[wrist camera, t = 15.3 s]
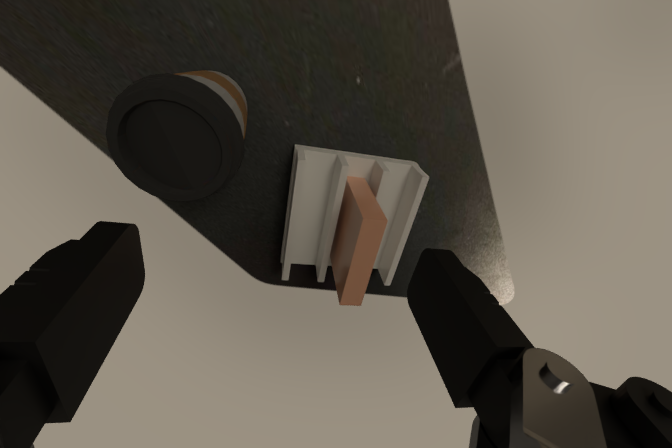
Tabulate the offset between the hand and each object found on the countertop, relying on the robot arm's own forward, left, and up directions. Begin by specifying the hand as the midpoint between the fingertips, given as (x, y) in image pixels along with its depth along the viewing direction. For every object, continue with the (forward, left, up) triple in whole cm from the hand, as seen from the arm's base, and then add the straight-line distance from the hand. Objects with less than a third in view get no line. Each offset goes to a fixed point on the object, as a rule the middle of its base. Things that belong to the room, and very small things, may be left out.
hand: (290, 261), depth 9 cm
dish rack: (+13, +9, -28) cm, 32 cm away
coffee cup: (+2, -7, -28) cm, 29 cm away
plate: (+13, +9, -27) cm, 31 cm away
